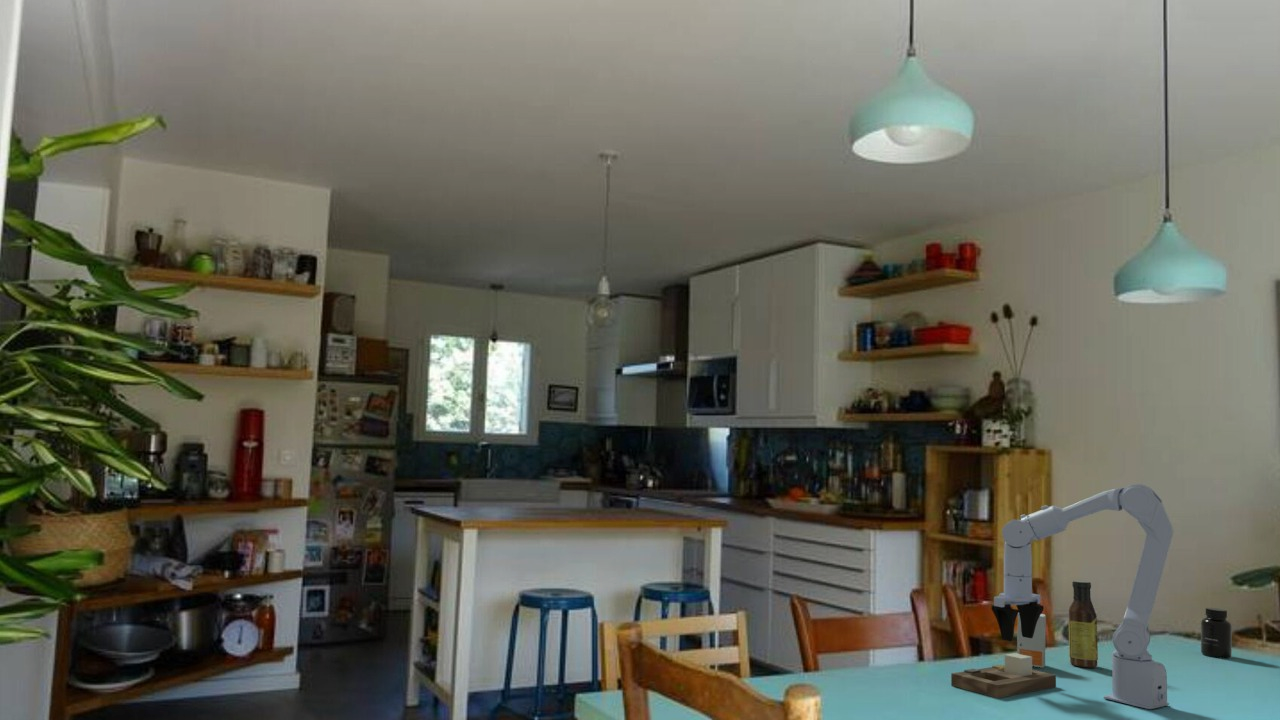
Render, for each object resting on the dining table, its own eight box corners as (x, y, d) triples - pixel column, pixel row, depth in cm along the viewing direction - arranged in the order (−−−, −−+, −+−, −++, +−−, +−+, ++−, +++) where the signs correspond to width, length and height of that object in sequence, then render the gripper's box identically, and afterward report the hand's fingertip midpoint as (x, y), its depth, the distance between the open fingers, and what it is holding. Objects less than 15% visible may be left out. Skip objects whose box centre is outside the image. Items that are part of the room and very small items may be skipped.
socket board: (1055, 686, 200) (1055, 674, 200) (997, 698, 188) (997, 685, 188) (1009, 675, 209) (1009, 664, 209) (951, 685, 197) (951, 673, 197)
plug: (1032, 685, 200) (1032, 656, 201) (1021, 687, 198) (1021, 658, 199) (1015, 681, 204) (1015, 653, 204) (1004, 683, 201) (1004, 654, 202)
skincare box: (1016, 664, 221) (1016, 613, 222) (1018, 661, 224) (1018, 611, 226) (1044, 668, 218) (1044, 616, 219) (1045, 665, 222) (1045, 614, 223)
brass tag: (1008, 667, 205) (1008, 666, 205) (999, 669, 203) (999, 667, 203) (1000, 666, 206) (1000, 664, 206) (992, 667, 205) (992, 665, 205)
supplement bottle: (1205, 657, 241) (1204, 609, 242) (1198, 652, 247) (1197, 606, 248) (1235, 659, 239) (1234, 612, 240) (1227, 654, 245) (1226, 608, 246)
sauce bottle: (1102, 669, 220) (1102, 583, 222) (1076, 668, 220) (1075, 582, 222) (1090, 663, 226) (1089, 580, 228) (1064, 662, 226) (1063, 579, 228)
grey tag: (980, 672, 199) (980, 670, 199) (971, 673, 197) (971, 671, 197) (973, 670, 201) (973, 668, 201) (964, 672, 199) (964, 670, 199)
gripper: (1020, 571, 211) (1020, 632, 210) (981, 574, 203) (981, 637, 201) (1049, 575, 205) (1049, 638, 204) (1010, 578, 197) (1010, 644, 196)
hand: (1017, 638), depth 202 cm, fingers open, 7 cm apart
